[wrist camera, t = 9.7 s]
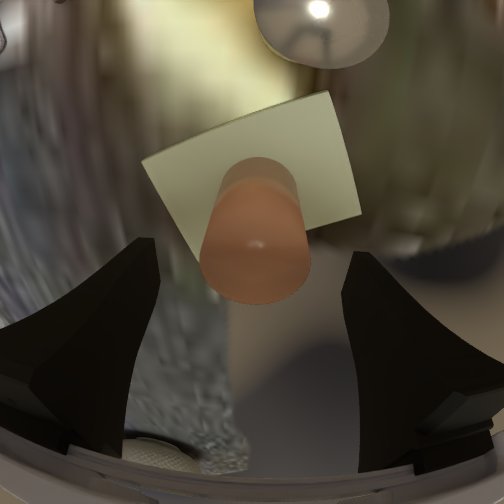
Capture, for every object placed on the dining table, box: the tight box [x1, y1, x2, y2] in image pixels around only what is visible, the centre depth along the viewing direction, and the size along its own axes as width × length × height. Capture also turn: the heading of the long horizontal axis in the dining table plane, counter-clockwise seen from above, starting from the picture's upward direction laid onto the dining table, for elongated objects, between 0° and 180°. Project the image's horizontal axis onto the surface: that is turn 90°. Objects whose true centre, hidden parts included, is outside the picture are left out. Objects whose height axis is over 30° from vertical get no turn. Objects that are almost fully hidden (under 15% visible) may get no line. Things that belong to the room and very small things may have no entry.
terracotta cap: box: [199, 157, 311, 305], centre depth 14 cm, size 4×4×6 cm
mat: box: [141, 90, 362, 262], centre depth 16 cm, size 10×7×1 cm
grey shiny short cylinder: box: [254, 0, 389, 69], centre depth 9 cm, size 4×4×6 cm
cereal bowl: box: [121, 437, 202, 474], centre depth 41 cm, size 17×17×7 cm
